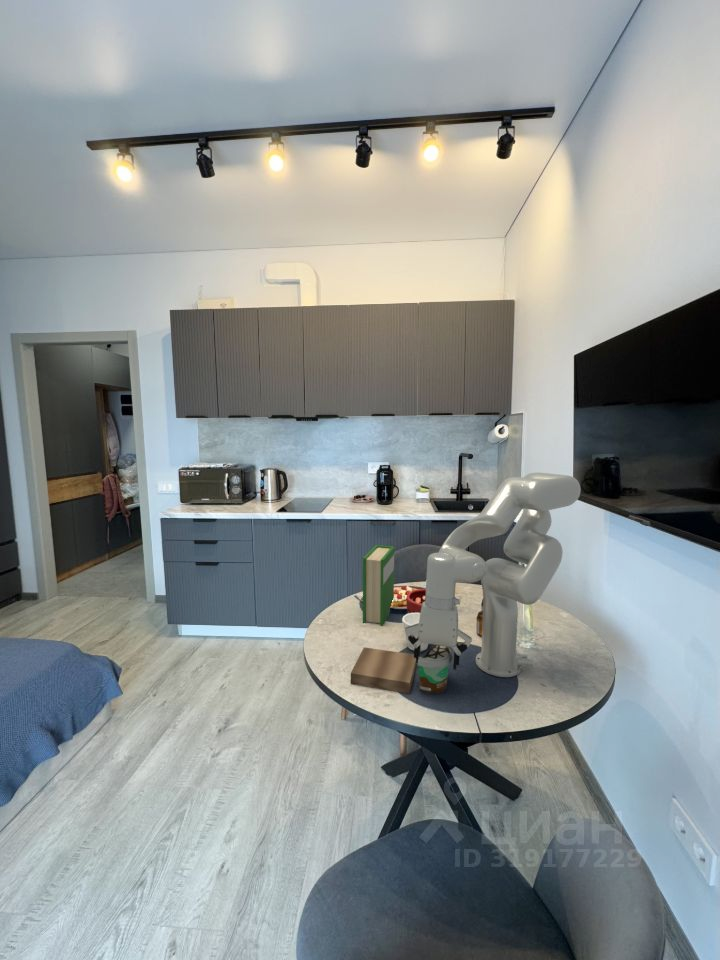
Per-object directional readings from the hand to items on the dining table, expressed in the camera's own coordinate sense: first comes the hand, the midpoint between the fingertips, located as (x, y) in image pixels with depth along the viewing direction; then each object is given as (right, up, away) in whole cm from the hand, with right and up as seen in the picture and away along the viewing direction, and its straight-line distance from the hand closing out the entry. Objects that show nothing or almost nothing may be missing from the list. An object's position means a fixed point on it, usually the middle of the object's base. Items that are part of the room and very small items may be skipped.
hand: (436, 663), depth 107 cm
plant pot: (+2, -3, +34) cm, 34 cm away
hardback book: (-13, -2, +45) cm, 47 cm away
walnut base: (-13, -6, +7) cm, 16 cm away
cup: (-2, -5, +22) cm, 22 cm away
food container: (+1, -7, +1) cm, 7 cm away
